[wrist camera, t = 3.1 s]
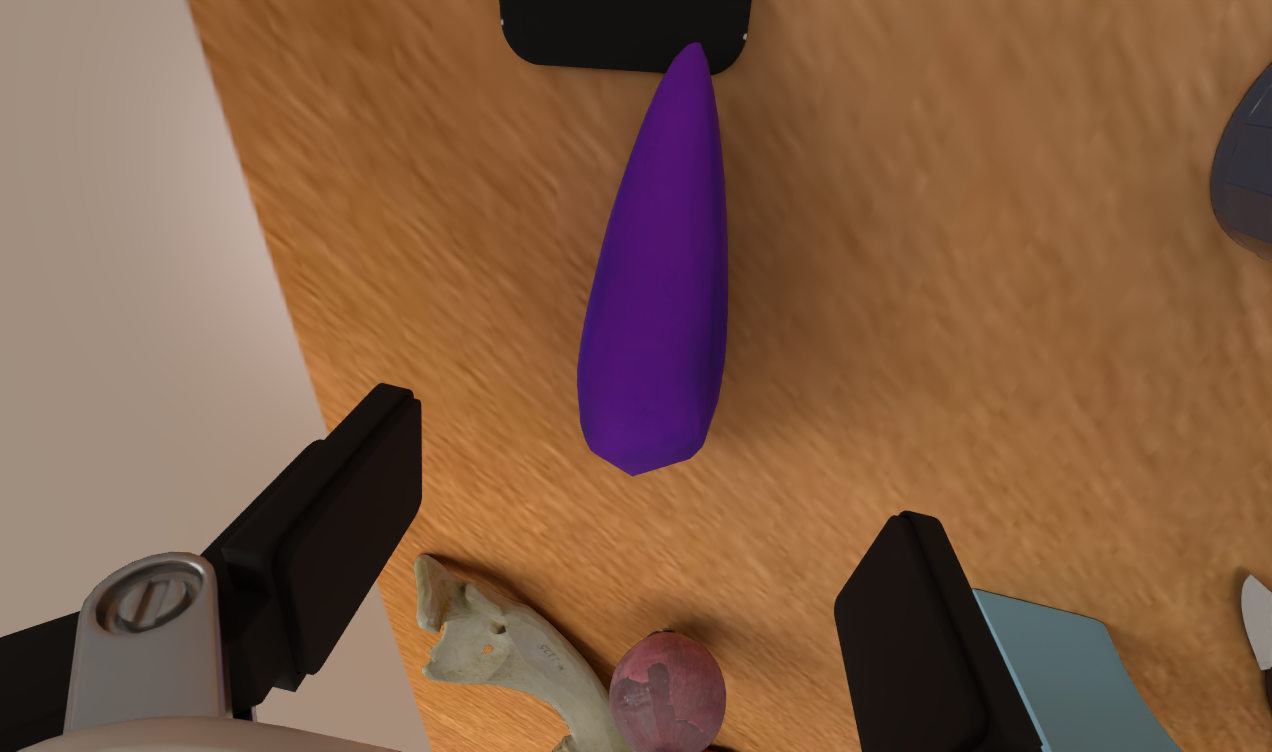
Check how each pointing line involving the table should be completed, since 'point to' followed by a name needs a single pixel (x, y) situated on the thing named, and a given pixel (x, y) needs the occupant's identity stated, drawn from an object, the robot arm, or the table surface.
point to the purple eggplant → (661, 286)
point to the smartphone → (624, 32)
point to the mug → (1247, 171)
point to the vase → (1071, 679)
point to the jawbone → (512, 654)
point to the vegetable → (668, 695)
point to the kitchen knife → (1259, 624)
